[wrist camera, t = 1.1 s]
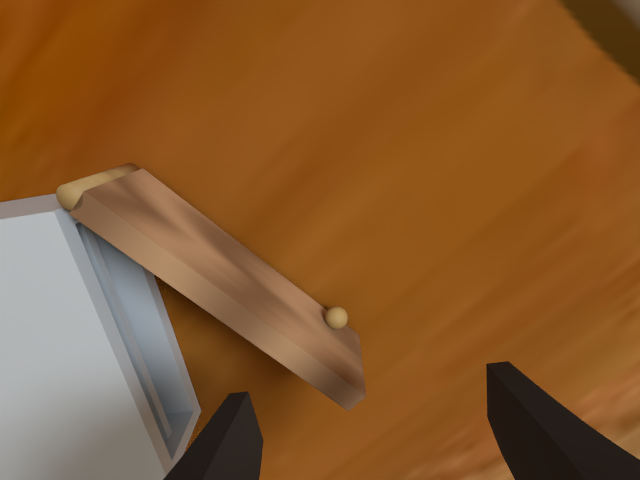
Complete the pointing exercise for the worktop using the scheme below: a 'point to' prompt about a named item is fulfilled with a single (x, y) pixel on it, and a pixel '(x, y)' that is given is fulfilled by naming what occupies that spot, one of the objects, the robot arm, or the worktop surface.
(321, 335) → the door
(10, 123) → the worktop surface
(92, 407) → the cabinet
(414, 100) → the worktop surface
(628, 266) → the worktop surface
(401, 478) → the worktop surface
